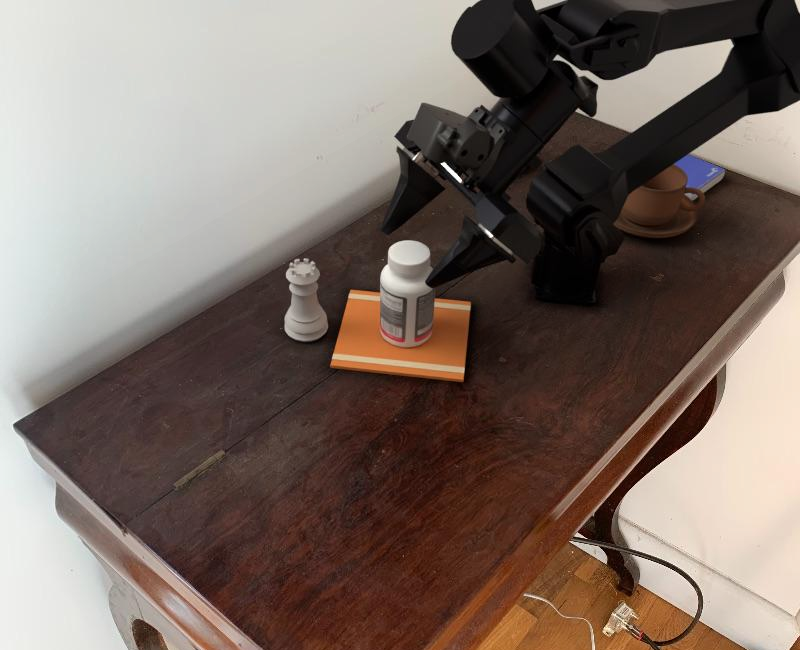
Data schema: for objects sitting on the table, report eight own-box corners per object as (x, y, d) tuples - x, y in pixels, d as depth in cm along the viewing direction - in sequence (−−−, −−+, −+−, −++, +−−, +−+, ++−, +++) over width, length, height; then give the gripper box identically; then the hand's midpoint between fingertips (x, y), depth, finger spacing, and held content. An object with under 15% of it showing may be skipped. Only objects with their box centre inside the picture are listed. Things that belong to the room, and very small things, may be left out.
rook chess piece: (336, 323, 83) (334, 260, 77) (315, 349, 80) (311, 285, 74) (298, 311, 84) (293, 247, 78) (276, 336, 81) (269, 272, 76)
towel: (470, 304, 86) (471, 301, 86) (463, 382, 78) (463, 378, 77) (350, 292, 87) (350, 288, 86) (330, 368, 78) (330, 364, 78)
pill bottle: (425, 311, 84) (430, 232, 77) (438, 345, 80) (445, 266, 74) (374, 318, 83) (375, 238, 76) (385, 352, 80) (387, 272, 73)
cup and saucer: (678, 193, 103) (692, 149, 98) (705, 248, 95) (721, 202, 90) (585, 192, 102) (595, 147, 98) (604, 247, 94) (616, 201, 90)
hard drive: (726, 168, 105) (644, 134, 111) (694, 191, 100) (611, 154, 106) (722, 179, 106) (641, 145, 112) (691, 202, 102) (608, 165, 107)
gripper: (417, 29, 71) (307, 168, 75) (534, 122, 59) (396, 280, 63) (484, 99, 79) (382, 221, 83) (599, 192, 67) (473, 329, 72)
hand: (405, 258), depth 75 cm, fingers open, 9 cm apart
